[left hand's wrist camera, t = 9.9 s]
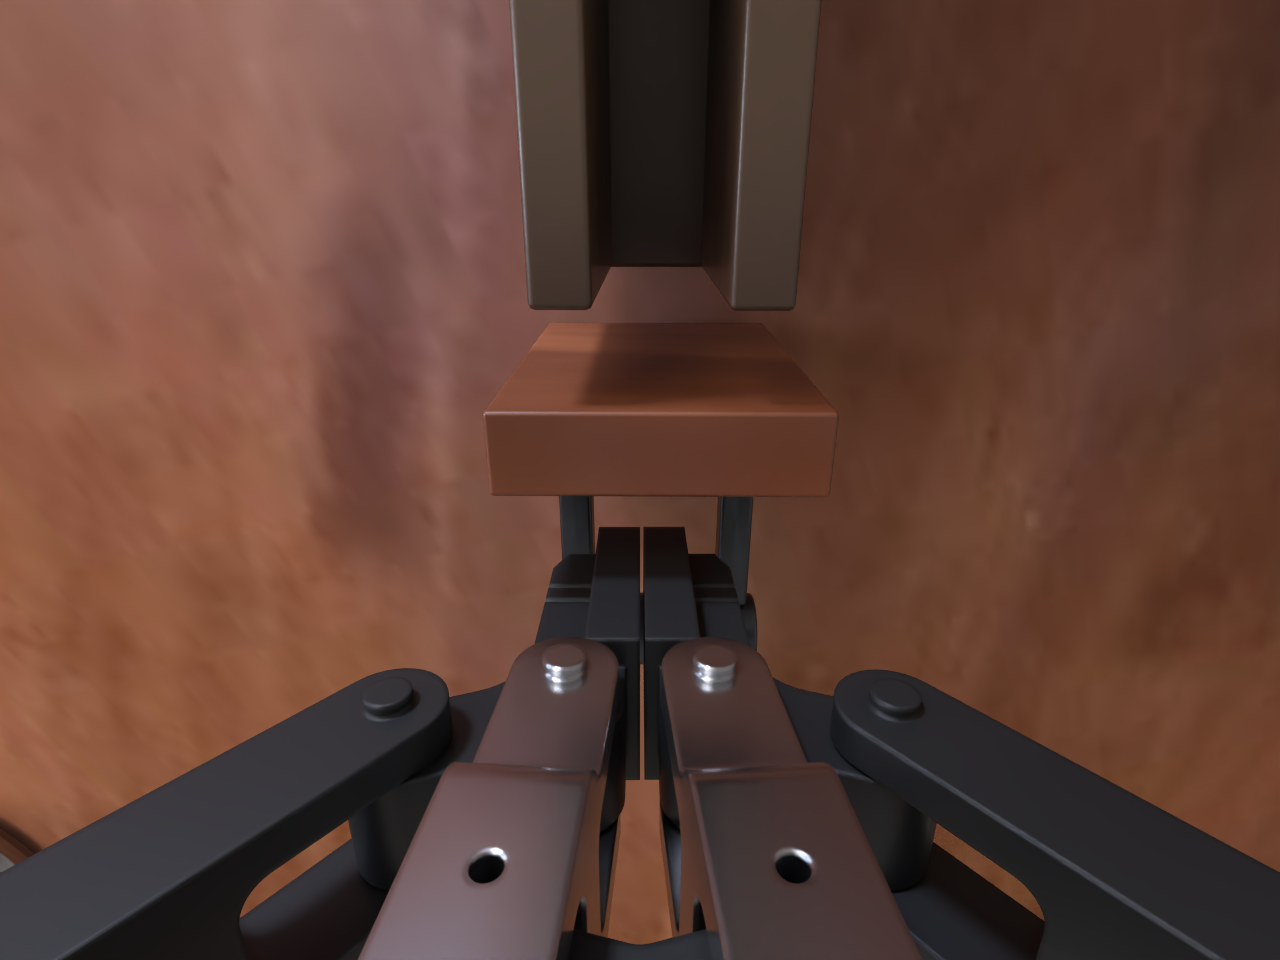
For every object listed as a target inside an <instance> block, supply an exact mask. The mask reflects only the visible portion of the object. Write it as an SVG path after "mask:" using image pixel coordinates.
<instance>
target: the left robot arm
mask: <svg viewBox="0 0 1280 960" xmlns="http://www.w3.org/2000/svg"><path fill="white" fill-rule="evenodd" d="M643 646H644V767H645V780H659V790H660V822H659V826H660V839H661V847H662V855H663V863H664V871H665V880H666V888H667V896H668V904H669V912H670V920H671V929H672V937H673V938H670V939H666V940H662V941H658V942H654V943H650V944H644V945H636V944H630V943H626V942H622V941H618V940H614V939H610V938H607V937H608V929H609V920H610V912H611V904H612V896H613V888H614V880H615V871H616V863H617V855H618V847H619V839H620V826H621V822H620V813H621V812H622V809H623V806H624V802H625V783H626V780H640V527H599V533H598V540H597V548H596V554H569V555H567V556H566V557H565V558H564V559H563V560H562V561H561V562H560V563H559V564H558V565H557V566H555V567H554V568H553V572H552V576H551V580H550V584H549V589H548V593H547V597H546V602H545V605H544V609H543V613H542V617H541V621H540V625H539V629H538V633H537V637H536V641H535V645H532V646H531V647H529V648H527V649H526V650H525V651H523V652H522V653H521V654H520V655H519V656H518V657H517V658H516V660H515V661H514V663H513V665H512V668H511V670H510V673H509V675H508V677H507V680H506V681H505V682H503V683H501V684H499V685H496V686H494V687H491V688H488V689H484V690H480V691H476V692H472V693H467V694H462V695H458V696H453V697H449V692H448V688H447V685H446V683H445V682H444V681H443V679H441V678H440V677H439V676H437V675H436V674H433V673H431V672H429V671H425V670H421V669H411V668H403V669H393V670H387V671H383V672H379V673H376V674H373V675H370V676H367V677H365V678H363V679H361V680H359V681H357V682H355V683H353V684H351V685H349V686H347V687H346V688H344V689H342V690H340V691H338V692H336V693H334V694H332V695H331V696H329V697H327V698H325V699H323V700H321V701H319V702H318V703H316V704H314V705H312V706H310V707H308V708H306V709H304V710H303V711H301V712H299V713H297V714H295V715H293V716H291V717H290V718H288V719H286V720H284V721H282V722H280V723H278V724H277V725H275V726H273V727H271V728H269V729H267V730H265V731H263V732H262V733H260V734H258V735H256V736H254V737H252V738H250V739H249V740H247V741H245V742H243V743H241V744H239V745H237V746H236V747H234V748H232V749H230V750H228V751H226V752H224V753H222V754H221V755H219V756H217V757H215V758H213V759H211V760H209V761H208V762H206V763H204V764H202V765H200V766H198V767H196V768H195V769H193V770H191V771H189V772H187V773H185V774H183V775H181V776H180V777H178V778H176V779H174V780H172V781H170V782H168V783H167V784H165V785H163V786H161V787H159V788H157V789H155V790H153V791H152V792H150V793H148V794H146V795H144V796H142V797H140V798H139V799H137V800H135V801H133V802H131V803H129V804H127V805H126V806H124V807H122V808H120V809H118V810H116V811H114V812H112V813H111V814H109V815H107V816H105V817H103V818H101V819H99V820H98V821H96V822H94V823H92V824H90V825H88V826H86V827H85V828H83V829H81V830H79V831H77V832H75V833H73V834H71V835H70V836H68V837H66V838H64V839H62V840H60V841H58V842H57V843H55V844H53V845H51V846H49V847H47V848H45V849H44V850H42V851H40V852H38V853H36V854H33V853H32V852H31V851H30V850H29V849H27V848H26V847H25V846H24V845H23V844H22V843H20V842H19V841H18V840H16V839H15V838H14V837H12V836H11V835H10V834H8V833H7V832H5V831H4V830H2V829H1V828H0V960H1280V873H1279V872H1278V871H1276V870H1274V869H1272V868H1270V867H1268V866H1266V865H1264V864H1263V863H1261V862H1259V861H1257V860H1255V859H1253V858H1251V857H1250V856H1248V855H1246V854H1244V853H1242V852H1240V851H1238V850H1237V849H1235V848H1233V847H1231V846H1229V845H1227V844H1225V843H1223V842H1222V841H1220V840H1218V839H1216V838H1214V837H1212V836H1210V835H1209V834H1207V833H1205V832H1203V831H1201V830H1199V829H1197V828H1196V827H1194V826H1192V825H1190V824H1188V823H1186V822H1184V821H1182V820H1181V819H1179V818H1177V817H1175V816H1173V815H1171V814H1169V813H1168V812H1166V811H1164V810H1162V809H1160V808H1158V807H1156V806H1154V805H1153V804H1151V803H1149V802H1147V801H1145V800H1143V799H1141V798H1140V797H1138V796H1136V795H1134V794H1132V793H1130V792H1128V791H1127V790H1125V789H1123V788H1121V787H1119V786H1117V785H1115V784H1113V783H1112V782H1110V781H1108V780H1106V779H1104V778H1102V777H1100V776H1099V775H1097V774H1095V773H1093V772H1091V771H1089V770H1087V769H1086V768H1084V767H1082V766H1080V765H1078V764H1076V763H1074V762H1072V761H1071V760H1069V759H1067V758H1065V757H1063V756H1061V755H1059V754H1058V753H1056V752H1054V751H1052V750H1050V749H1048V748H1046V747H1045V746H1043V745H1041V744H1039V743H1037V742H1035V741H1033V740H1031V739H1030V738H1028V737H1026V736H1024V735H1022V734H1020V733H1018V732H1017V731H1015V730H1013V729H1011V728H1009V727H1007V726H1005V725H1003V724H1002V723H1000V722H998V721H996V720H994V719H992V718H990V717H989V716H987V715H985V714H983V713H981V712H979V711H977V710H976V709H974V708H972V707H970V706H968V705H966V704H964V703H962V702H961V701H959V700H957V699H955V698H953V697H951V696H949V695H948V694H946V693H944V692H942V691H940V690H938V689H936V688H935V687H933V686H931V685H929V684H927V683H925V682H923V681H921V680H919V679H917V678H914V677H911V676H909V675H906V674H902V673H898V672H893V671H887V670H865V671H859V672H855V673H852V674H850V675H848V676H846V677H844V678H843V679H842V680H841V681H840V682H839V683H838V684H837V686H836V688H835V691H834V697H833V696H829V695H824V694H819V693H815V692H810V691H806V690H802V689H798V688H795V687H792V686H789V685H786V684H784V683H782V682H780V681H778V680H776V679H775V678H773V677H772V675H771V673H770V670H769V668H768V665H767V663H766V661H765V660H764V658H763V657H762V656H761V655H760V654H759V653H758V652H757V651H755V650H754V649H753V648H751V647H750V643H749V639H748V635H747V631H746V627H745V623H744V620H743V616H742V612H741V608H740V604H739V602H738V596H737V593H736V589H735V588H734V581H733V577H732V573H731V569H730V567H728V566H727V565H726V564H725V563H724V562H723V561H722V560H721V559H720V558H718V557H717V556H716V555H715V554H688V549H687V542H686V535H685V529H684V527H644V546H643ZM347 820H348V821H349V827H350V832H351V837H352V839H350V840H349V841H348V842H346V843H345V844H343V845H342V846H341V847H339V848H338V849H336V850H335V851H334V852H332V853H331V854H329V855H328V856H327V857H325V858H324V859H322V860H321V861H320V862H318V863H317V864H315V865H314V866H313V867H311V868H310V869H308V870H307V871H306V872H304V873H303V874H301V875H300V876H299V877H297V878H296V879H294V880H293V881H292V882H290V883H289V884H287V885H286V886H285V887H283V888H282V889H280V890H279V891H278V892H276V893H275V894H273V895H272V896H271V897H269V898H268V899H266V900H265V901H264V902H262V903H261V904H259V905H258V906H257V907H255V908H254V909H252V910H251V911H250V912H248V913H247V914H245V915H244V916H243V917H241V918H240V913H241V910H242V907H243V905H244V903H245V901H246V899H247V898H248V896H249V895H250V893H251V892H252V890H253V889H254V888H255V887H256V886H257V885H258V883H260V882H261V881H262V880H263V879H264V878H265V877H266V876H267V875H269V874H270V873H271V872H273V871H274V870H276V869H277V868H279V867H280V866H282V865H283V864H284V863H286V862H287V861H289V860H290V859H292V858H293V857H295V856H296V855H297V854H299V853H300V852H302V851H303V850H305V849H306V848H308V847H309V846H311V845H312V844H313V843H315V842H316V841H318V840H319V839H321V838H322V837H324V836H325V835H326V834H328V833H329V832H331V831H332V830H334V829H335V828H337V827H338V826H340V825H341V824H342V823H344V822H345V821H347ZM936 823H938V824H939V825H941V826H942V827H943V828H945V829H946V830H948V831H949V832H951V833H952V834H954V835H955V836H956V837H958V838H959V839H961V840H962V841H964V842H965V843H967V844H968V845H970V846H971V847H972V848H974V849H975V850H977V851H978V852H980V853H981V854H983V855H984V856H985V857H987V858H988V859H990V860H991V861H993V862H994V863H996V864H997V865H998V866H1000V867H1001V868H1003V869H1004V870H1006V871H1007V872H1009V873H1010V874H1012V875H1013V876H1014V877H1016V878H1017V879H1018V880H1019V881H1020V882H1022V883H1023V884H1024V885H1025V886H1026V887H1027V888H1028V890H1029V891H1030V892H1031V893H1032V894H1033V896H1034V897H1035V899H1036V900H1037V902H1038V904H1039V905H1040V907H1041V910H1042V912H1043V915H1044V919H1045V921H1043V920H1042V919H1040V918H1039V917H1037V916H1036V915H1035V914H1033V913H1032V912H1030V911H1029V910H1028V909H1026V908H1025V907H1023V906H1022V905H1021V904H1019V903H1018V902H1016V901H1015V900H1014V899H1012V898H1011V897H1009V896H1008V895H1007V894H1005V893H1004V892H1002V891H1001V890H1000V889H998V888H997V887H995V886H994V885H993V884H991V883H990V882H988V881H987V880H986V879H984V878H983V877H981V876H980V875H979V874H977V873H976V872H974V871H973V870H972V869H970V868H969V867H967V866H966V865H965V864H963V863H962V862H960V861H959V860H958V859H956V858H955V857H954V856H952V855H951V854H949V853H948V852H947V851H945V850H944V849H942V848H941V847H940V846H938V845H937V844H935V843H934V842H933V838H934V833H935V828H936Z"/></svg>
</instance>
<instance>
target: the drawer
mask: <svg viewBox="0 0 1280 960" xmlns="http://www.w3.org/2000/svg"><path fill="white" fill-rule="evenodd" d="M509 7H510V23H511V39H512V55H513V71H514V87H515V103H516V120H517V136H518V152H519V168H520V184H521V200H522V216H523V233H524V249H525V265H526V281H527V297H528V304H529V306H530V308H532V309H534V310H587V309H589V308H591V306H592V304H593V302H594V300H595V298H596V296H597V294H598V292H599V290H600V288H601V286H602V284H603V282H604V280H605V278H606V275H607V273H608V271H609V269H610V267H703V268H704V270H705V271H706V272H707V274H708V275H709V277H710V278H711V280H712V281H713V283H714V284H715V285H716V287H717V288H718V290H719V291H720V293H721V294H722V295H723V297H724V298H725V300H726V301H727V303H728V304H729V305H730V307H731V308H732V309H734V310H781V311H789V310H792V309H793V308H794V306H795V303H796V292H797V280H798V268H799V256H800V245H801V233H802V221H803V210H804V198H805V186H806V174H807V163H808V151H809V139H810V127H811V116H812V104H813V92H814V81H815V69H816V57H817V45H818V34H819V22H820V10H821V0H509ZM838 419H839V415H838V412H837V411H836V410H835V409H834V408H833V407H832V405H831V404H830V403H829V402H828V401H827V400H826V398H825V397H824V396H823V395H822V394H821V392H820V391H819V390H818V389H817V388H816V387H815V385H814V384H813V383H812V382H811V381H810V379H809V378H808V377H807V376H806V375H805V374H804V372H803V371H802V370H801V369H800V368H799V366H798V365H797V364H796V363H795V362H794V361H793V359H792V358H791V357H790V356H789V355H788V353H787V352H786V351H785V350H784V349H783V348H782V346H781V345H780V344H779V343H778V342H777V341H776V339H775V338H774V337H773V336H772V335H771V333H770V332H769V331H768V330H767V329H766V328H765V326H764V325H763V324H761V323H550V324H549V325H548V326H547V327H546V329H545V330H544V331H543V333H542V334H541V335H540V337H539V338H538V339H537V341H536V342H535V343H534V345H533V346H532V347H531V349H530V350H529V352H528V353H527V354H526V356H525V357H524V358H523V360H522V361H521V362H520V364H519V365H518V366H517V368H516V369H515V370H514V372H513V373H512V374H511V376H510V377H509V378H508V380H507V381H506V382H505V384H504V385H503V387H502V388H501V389H500V391H499V392H498V393H497V395H496V396H495V397H494V399H493V400H492V401H491V403H490V404H489V405H488V407H487V408H486V409H485V411H484V413H483V423H484V434H485V445H486V456H487V467H488V478H489V488H490V493H491V495H494V496H559V503H560V523H561V543H562V560H563V559H564V558H565V557H566V556H567V555H569V554H595V530H594V496H698V497H718V509H717V530H716V551H715V555H716V556H717V557H718V558H720V559H721V560H722V561H723V562H724V563H725V564H726V565H727V566H728V567H730V569H731V573H732V577H733V581H734V588H735V589H736V593H737V596H738V602H739V604H740V608H741V612H742V616H743V620H744V623H745V627H746V631H747V635H748V639H749V643H750V647H751V648H753V649H754V650H755V651H756V650H757V618H756V609H755V603H754V599H753V597H752V595H751V594H749V593H747V581H748V566H749V552H750V538H751V523H752V509H753V497H828V496H829V494H830V488H831V479H832V470H833V462H834V453H835V445H836V436H837V427H838ZM640 664H644V646H643V593H640Z"/></svg>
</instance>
